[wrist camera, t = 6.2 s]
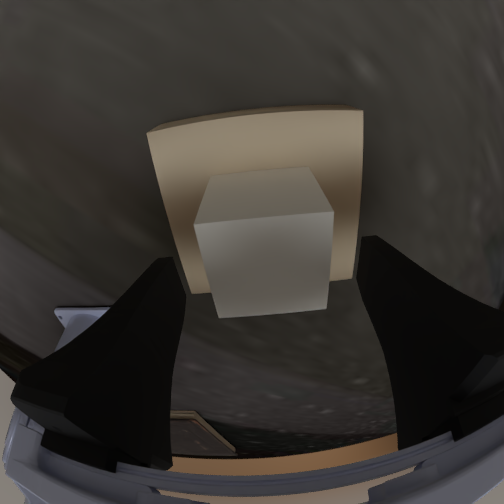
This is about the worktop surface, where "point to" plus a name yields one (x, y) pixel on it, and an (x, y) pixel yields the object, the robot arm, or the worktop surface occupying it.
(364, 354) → the worktop surface
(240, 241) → the cream cube
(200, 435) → the hardcover book
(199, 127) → the oak plinth
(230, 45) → the worktop surface
